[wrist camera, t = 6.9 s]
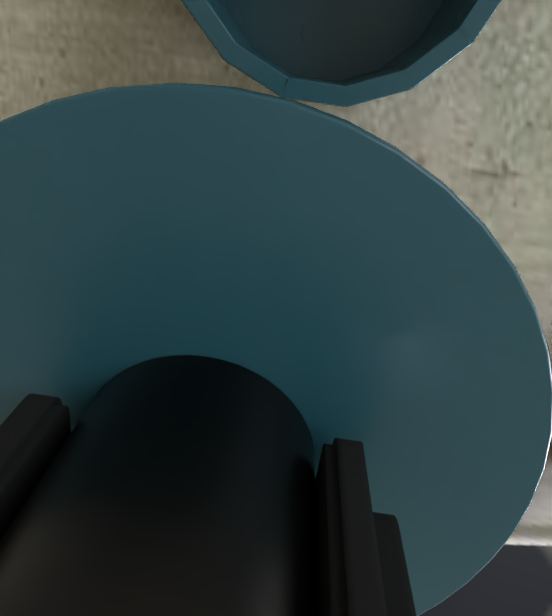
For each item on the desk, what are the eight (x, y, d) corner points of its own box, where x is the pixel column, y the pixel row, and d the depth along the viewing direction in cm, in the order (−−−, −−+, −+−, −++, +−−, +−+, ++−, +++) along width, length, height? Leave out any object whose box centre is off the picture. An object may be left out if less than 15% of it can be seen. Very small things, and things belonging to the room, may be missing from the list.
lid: (-50, 577, 15) (-292, 917, 9) (-175, 24, 9) (-1260, -79, 3) (431, 647, 15) (512, 1034, 9) (652, 146, 9) (1410, 313, 3)
